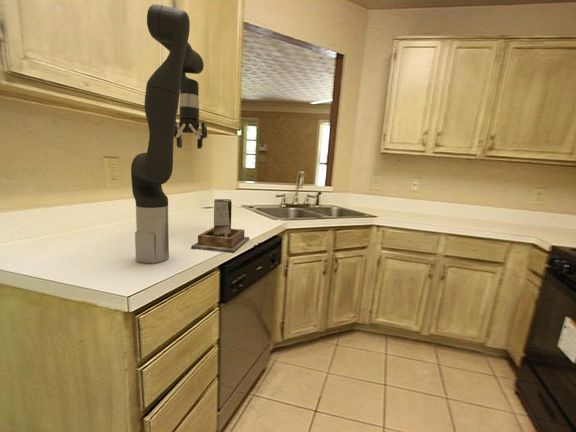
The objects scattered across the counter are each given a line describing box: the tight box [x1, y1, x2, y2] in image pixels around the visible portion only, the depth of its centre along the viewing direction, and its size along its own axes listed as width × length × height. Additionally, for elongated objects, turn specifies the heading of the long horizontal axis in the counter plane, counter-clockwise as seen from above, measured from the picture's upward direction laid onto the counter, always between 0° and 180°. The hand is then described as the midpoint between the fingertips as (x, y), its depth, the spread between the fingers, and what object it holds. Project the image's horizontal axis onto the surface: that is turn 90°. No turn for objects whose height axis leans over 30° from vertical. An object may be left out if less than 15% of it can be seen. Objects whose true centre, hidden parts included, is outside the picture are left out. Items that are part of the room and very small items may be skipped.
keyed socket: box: [190, 226, 250, 254], centre depth 119 cm, size 16×20×4 cm
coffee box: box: [213, 198, 233, 237], centre depth 118 cm, size 9×6×16 cm
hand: (189, 148), depth 127 cm, fingers open, 8 cm apart
